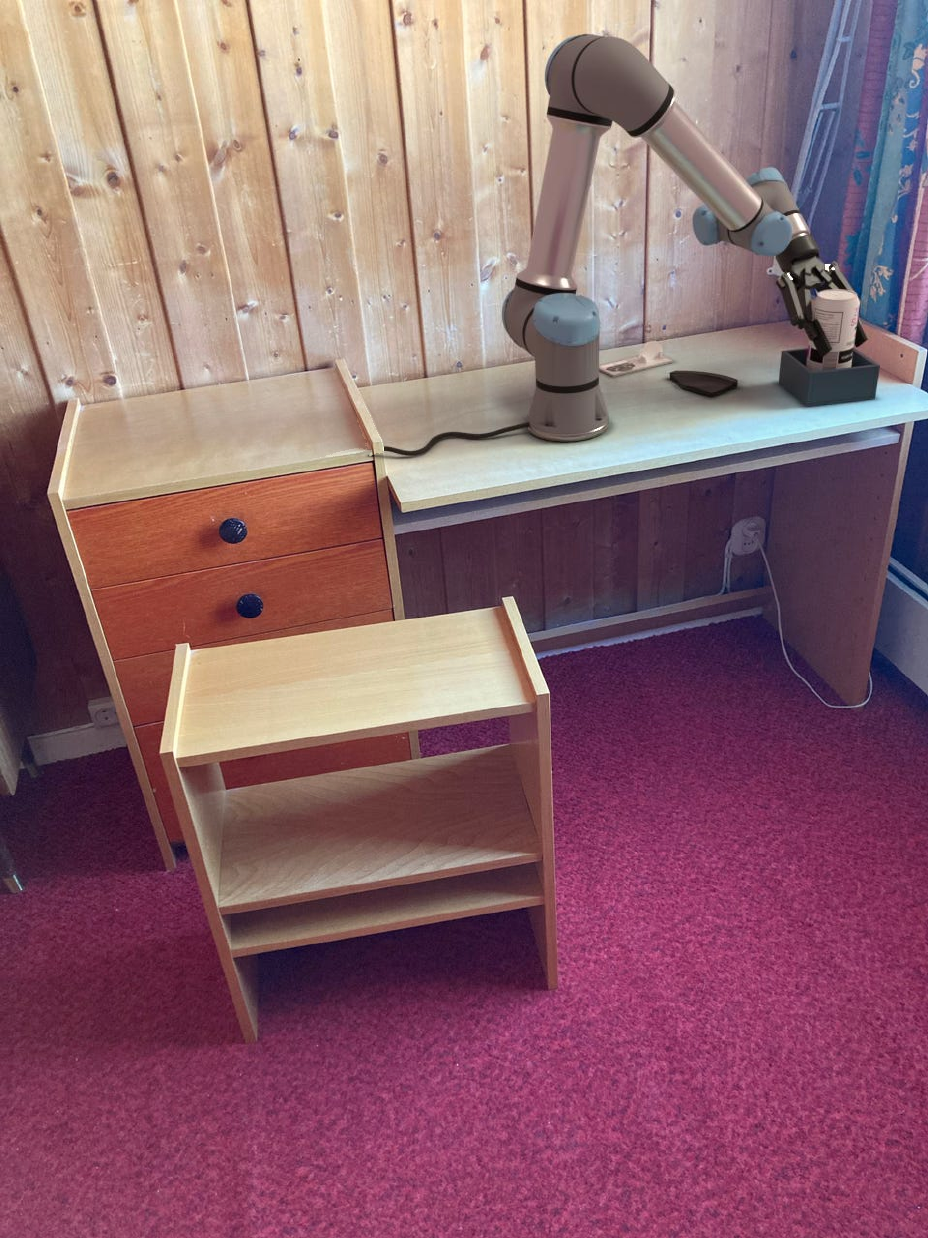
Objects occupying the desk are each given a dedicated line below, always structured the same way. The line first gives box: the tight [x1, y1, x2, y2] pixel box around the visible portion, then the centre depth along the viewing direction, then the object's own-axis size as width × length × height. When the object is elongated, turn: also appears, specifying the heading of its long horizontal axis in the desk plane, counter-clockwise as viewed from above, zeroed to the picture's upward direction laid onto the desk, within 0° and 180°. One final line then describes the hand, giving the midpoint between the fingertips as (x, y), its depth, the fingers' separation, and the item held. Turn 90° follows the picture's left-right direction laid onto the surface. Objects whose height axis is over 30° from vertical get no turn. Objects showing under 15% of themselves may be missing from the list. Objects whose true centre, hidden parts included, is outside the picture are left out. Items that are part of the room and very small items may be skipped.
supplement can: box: [806, 289, 861, 372], centre depth 198 cm, size 8×8×15 cm
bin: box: [778, 347, 881, 408], centre depth 202 cm, size 14×14×7 cm
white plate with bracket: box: [599, 340, 673, 378], centre depth 222 cm, size 15×7×4 cm, turn 117°
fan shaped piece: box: [668, 370, 739, 398], centre depth 210 cm, size 8×14×2 cm, turn 36°
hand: (844, 348), depth 196 cm, fingers closed on supplement can, 8 cm apart
